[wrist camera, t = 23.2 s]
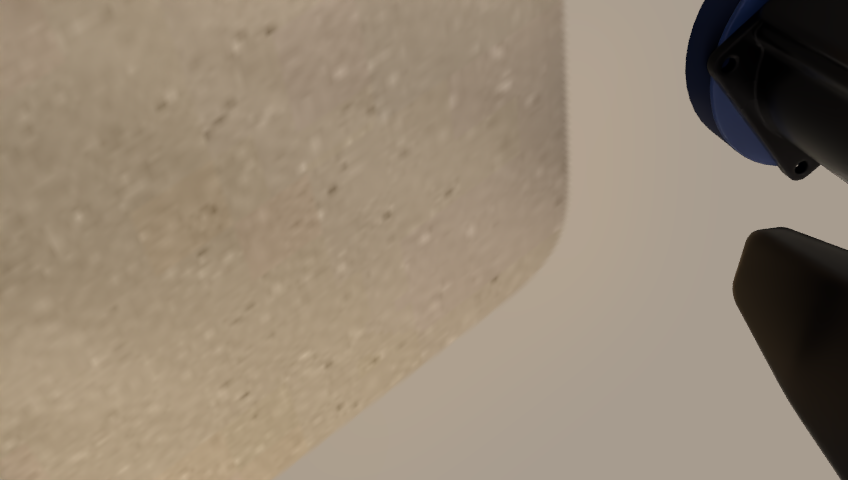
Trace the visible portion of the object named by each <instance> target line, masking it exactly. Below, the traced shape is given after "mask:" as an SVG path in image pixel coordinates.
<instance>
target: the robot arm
mask: <svg viewBox="0 0 848 480" xmlns="http://www.w3.org/2000/svg"><path fill="white" fill-rule="evenodd" d="M728 58H730V59H729V62H728V64H727V65H726V66H725V67H723V68H722V64H723V63H724V61H725V60H727V59H728ZM721 68H722V69H721ZM707 69H708V72H709V74H710V75H711V76H712V78H713V79H714V80H715V82H716V83H717V84H718V86H719V87H720V89H721V90H722V91H723V93H724V94H725V95H726V97H727V98H728V99H729V101H730V102H731V103H732V105H733V106H734V107H735V109H736V110H737V112H738V113H739V114H740V116H741V117H742V118H743V120H744V121H745V122H746V124H747V125H748V126H749V128H750V129H751V130H752V132H753V133H754V135H755V136H756V137H757V139H758V140H759V141H760V143H761V144H762V145H763V147H764V148H765V149H766V151H767V152H768V153H769V155H770V156H771V158H772V159H773V160H774V162H775V163H776V164H777V166H778V167H779V168H780V170H781V171H782V172H783V173H784V174H785V175H787V176H788V177H789V178H791V179H792V180H801V179H803V178H805V177H806V176H808V175H809V174H810V173H811V172H812V171H814V170H815V169H816V168H817V167H818V166H820V165H822V166H824V167H825V168H826V169H828V170H829V171H831V172H832V173H834V174H835V175H836V176H838V177H839V178H841V179H842V180H843V181H845V182H846V183H847V184H848V0H769V1H768V2H767V3H765V4H764V5H763V6H762V7H761V8H760V9H759V10H758V11H757V12H756V13H755V14H753V15H752V16H751V17H750V18H749V19H748V20H747V21H746V22H745V23H744V24H742V25H741V26H740V27H739V28H738V29H737V30H736V31H735V32H734V33H733V34H732V35H730V36H729V37H728V38H727V39H726V40H725V41H724V42H723V43H722V44H721V45H720V46H718V47H717V48H716V49H715V50H714V51H713V52H712V54H711V55H710V57H709V59H708V61H707ZM798 163H800V164H799V165H798ZM797 165H798V166H797ZM796 166H797V167H796ZM733 296H734V299H735V302H736V305H737V306H738V308H739V310H740V312H741V314H742V316H743V317H744V320H745V321H746V323H747V325H748V327H749V329H750V330H751V333H752V334H753V336H754V338H755V340H756V342H757V344H758V346H759V348H760V349H761V351H762V353H763V355H764V357H765V359H766V361H767V362H768V364H769V366H770V368H771V370H772V372H773V374H774V375H775V377H776V379H777V381H778V383H779V385H780V387H781V388H782V390H783V392H784V394H785V395H786V397H787V399H788V401H789V402H790V404H791V405H792V407H793V409H794V410H795V412H796V413H797V415H798V416H799V418H800V419H801V421H802V422H803V424H804V425H805V427H806V428H807V430H808V431H809V433H810V434H811V436H812V437H813V439H814V440H815V441H816V443H817V445H818V446H819V448H820V449H821V451H822V452H823V454H824V455H825V457H826V458H827V460H828V461H829V463H830V464H831V466H832V467H833V469H834V470H835V472H836V473H837V475H838V476H839V478H840V479H841V480H848V250H846V249H843V248H840V247H838V246H835V245H832V244H829V243H826V242H824V241H822V240H819V239H816V238H814V237H811V236H808V235H805V234H803V233H800V232H797V231H794V230H792V229H789V228H785V227H777V228H769V229H762V230H757V231H754V232H753V233H751V234H750V236H749V237H748V238H747V240H746V242H745V246H744V249H743V252H742V255H741V258H740V262H739V265H738V268H737V271H736V274H735V277H734V281H733Z"/></svg>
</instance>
